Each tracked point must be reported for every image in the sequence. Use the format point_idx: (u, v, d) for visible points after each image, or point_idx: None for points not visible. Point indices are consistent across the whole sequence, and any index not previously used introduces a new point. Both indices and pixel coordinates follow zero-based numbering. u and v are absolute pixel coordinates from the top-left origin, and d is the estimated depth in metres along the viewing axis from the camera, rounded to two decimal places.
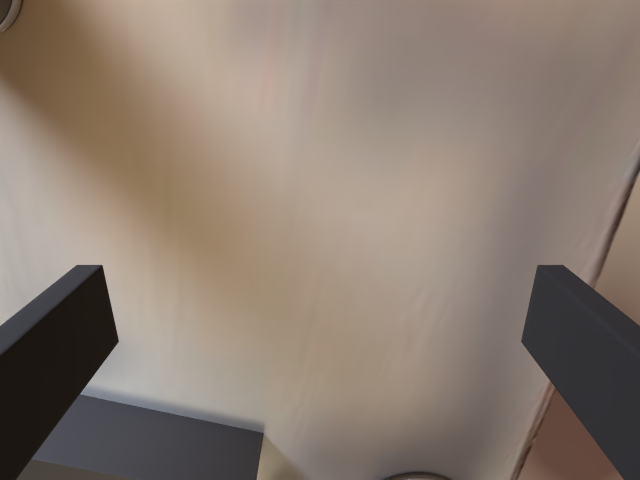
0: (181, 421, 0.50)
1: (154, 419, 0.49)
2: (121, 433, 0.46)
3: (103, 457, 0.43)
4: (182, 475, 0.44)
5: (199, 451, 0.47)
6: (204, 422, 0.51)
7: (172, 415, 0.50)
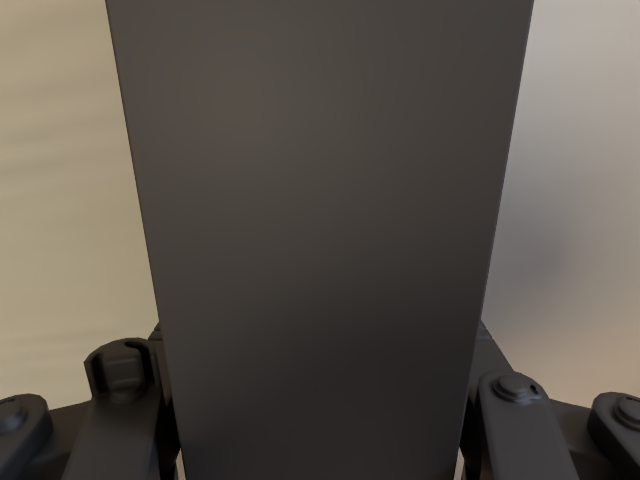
0: None
1: None
2: None
3: None
4: None
5: None
6: None
7: None
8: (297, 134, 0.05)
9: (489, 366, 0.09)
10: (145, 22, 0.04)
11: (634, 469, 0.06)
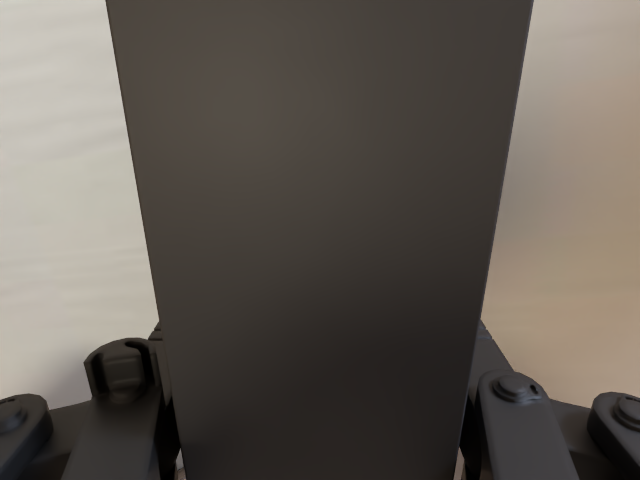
0: None
1: None
2: None
3: None
4: None
5: None
6: None
7: None
8: (296, 134, 0.05)
9: (489, 366, 0.09)
10: (145, 20, 0.04)
11: (634, 469, 0.06)
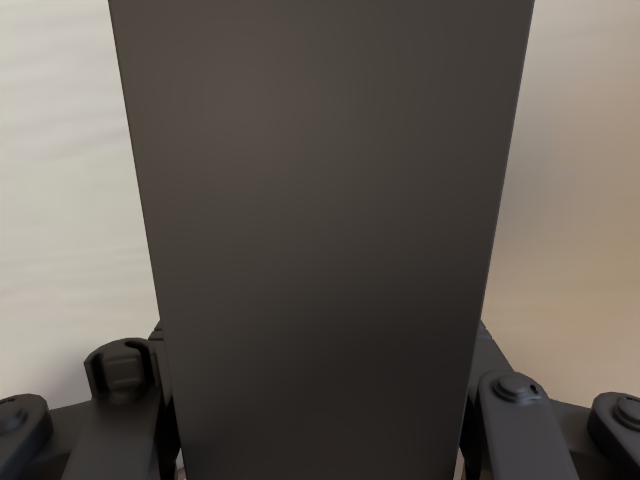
0: None
1: None
2: None
3: None
4: None
5: None
6: None
7: None
8: (298, 132, 0.05)
9: (489, 366, 0.09)
10: (147, 19, 0.04)
11: (634, 469, 0.06)
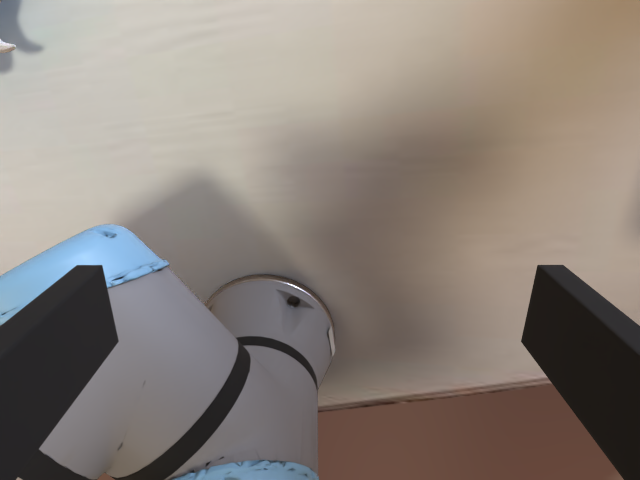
0: None
1: None
2: None
3: None
4: None
5: None
6: None
7: None
8: None
9: None
10: None
11: None
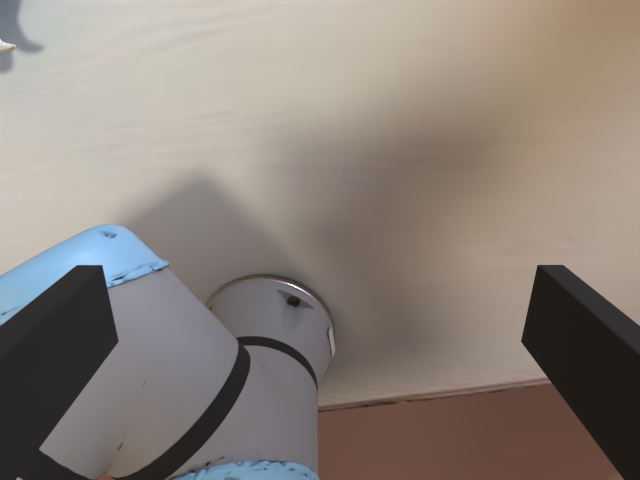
0: None
1: None
2: None
3: None
4: None
5: None
6: None
7: None
8: None
9: None
10: None
11: None
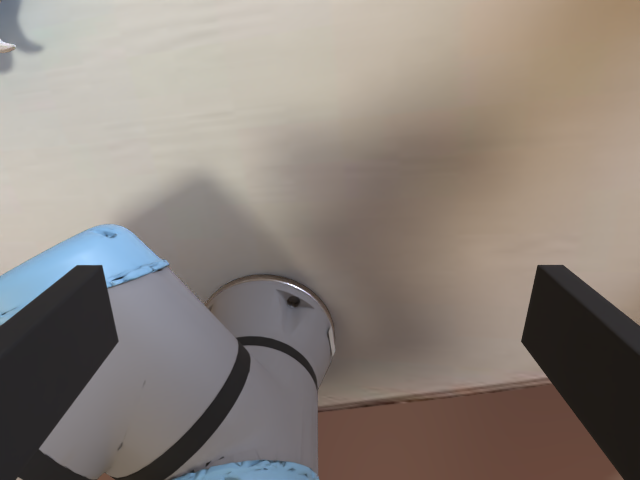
0: None
1: None
2: None
3: None
4: None
5: None
6: None
7: None
8: None
9: None
10: None
11: None
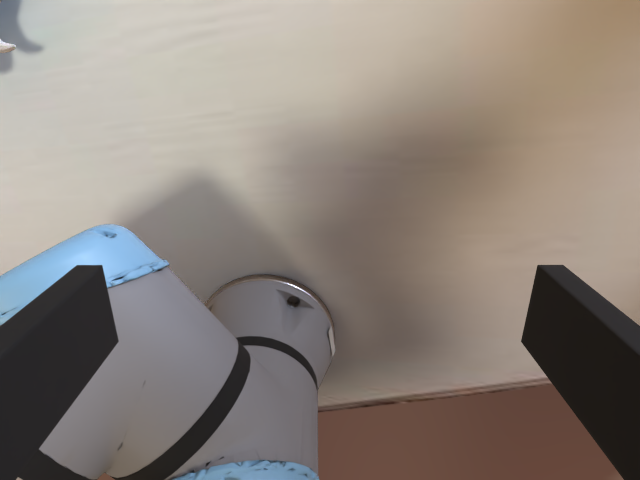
0: None
1: None
2: None
3: None
4: None
5: None
6: None
7: None
8: None
9: None
10: None
11: None
